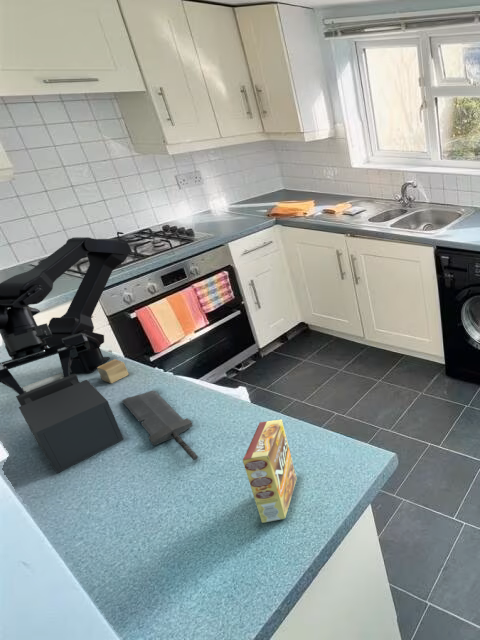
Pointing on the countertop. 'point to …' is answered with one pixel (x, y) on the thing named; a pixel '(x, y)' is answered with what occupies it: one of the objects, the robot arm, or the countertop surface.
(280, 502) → the candy box
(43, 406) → the dark grey drawer box
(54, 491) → the countertop surface
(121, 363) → the block
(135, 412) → the grey flat handled slab
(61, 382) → the dark grey drawer
